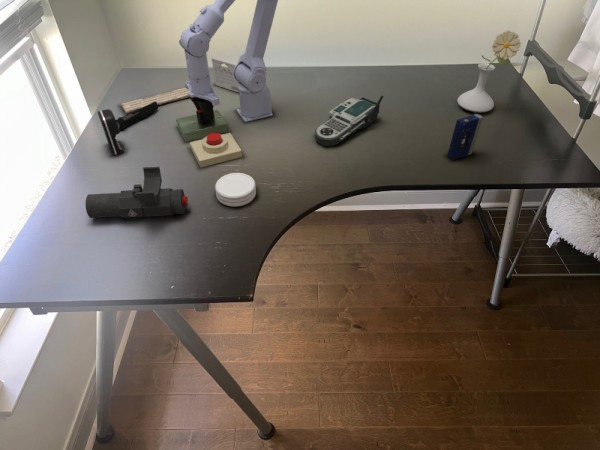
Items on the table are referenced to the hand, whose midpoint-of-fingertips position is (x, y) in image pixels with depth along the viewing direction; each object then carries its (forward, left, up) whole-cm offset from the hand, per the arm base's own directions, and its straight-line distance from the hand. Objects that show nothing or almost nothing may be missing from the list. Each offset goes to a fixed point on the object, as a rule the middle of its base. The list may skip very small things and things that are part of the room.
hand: (206, 118), depth 133 cm
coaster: (+2, +34, -4) cm, 34 cm away
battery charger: (+26, 0, -4) cm, 27 cm away
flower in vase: (-84, +25, -4) cm, 87 cm away
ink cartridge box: (-15, -22, -4) cm, 27 cm away
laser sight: (+25, +31, -4) cm, 40 cm away
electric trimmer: (+18, -14, -4) cm, 24 cm away
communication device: (-38, +18, -4) cm, 42 cm away
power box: (+1, +14, -3) cm, 14 cm away
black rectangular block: (0, 0, 0) cm, 0 cm away
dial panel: (+1, 0, -3) cm, 4 cm away
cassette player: (-61, +44, -4) cm, 75 cm away
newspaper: (+9, -23, -4) cm, 26 cm away
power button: (+1, +13, 0) cm, 14 cm away
